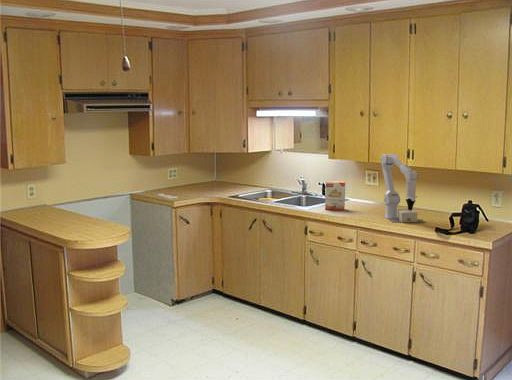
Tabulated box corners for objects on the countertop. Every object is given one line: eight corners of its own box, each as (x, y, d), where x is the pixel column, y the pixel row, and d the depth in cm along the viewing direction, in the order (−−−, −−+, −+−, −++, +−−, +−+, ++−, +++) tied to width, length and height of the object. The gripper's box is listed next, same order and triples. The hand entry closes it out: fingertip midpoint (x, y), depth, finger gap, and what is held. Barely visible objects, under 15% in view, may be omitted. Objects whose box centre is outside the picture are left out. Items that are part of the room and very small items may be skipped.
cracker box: (325, 209, 409) (325, 181, 405) (325, 208, 414) (326, 180, 411) (344, 210, 405) (344, 182, 402) (344, 209, 411) (345, 181, 408)
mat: (389, 219, 373) (389, 219, 373) (422, 219, 373) (422, 219, 373) (392, 222, 365) (392, 221, 365) (425, 222, 365) (425, 221, 365)
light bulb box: (417, 222, 364) (412, 218, 375) (417, 212, 363) (413, 209, 374) (401, 222, 364) (397, 218, 375) (401, 212, 363) (397, 209, 374)
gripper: (420, 191, 353) (419, 212, 355) (414, 187, 367) (413, 208, 369) (409, 191, 353) (408, 212, 355) (403, 187, 367) (402, 207, 369)
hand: (410, 210), depth 362 cm, fingers closed
